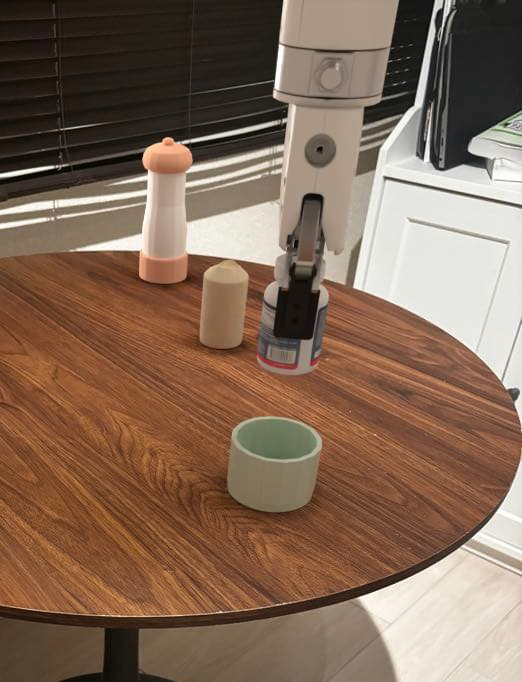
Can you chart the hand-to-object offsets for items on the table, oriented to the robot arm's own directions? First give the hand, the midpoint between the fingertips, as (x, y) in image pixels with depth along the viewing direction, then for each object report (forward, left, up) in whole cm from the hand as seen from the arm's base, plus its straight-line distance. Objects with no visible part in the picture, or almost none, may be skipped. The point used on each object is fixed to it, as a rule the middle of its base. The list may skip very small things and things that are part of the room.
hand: (293, 320), depth 68 cm
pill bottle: (0, 0, -4) cm, 4 cm away
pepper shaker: (+19, -55, -17) cm, 61 cm away
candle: (+8, -33, -17) cm, 38 cm away
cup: (0, 0, -17) cm, 17 cm away
